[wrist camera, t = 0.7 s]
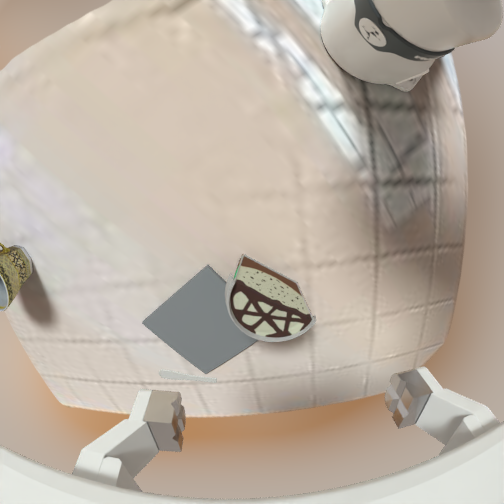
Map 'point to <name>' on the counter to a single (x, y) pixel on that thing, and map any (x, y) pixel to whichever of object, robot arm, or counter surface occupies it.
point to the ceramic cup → (13, 273)
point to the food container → (266, 303)
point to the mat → (199, 323)
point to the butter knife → (183, 376)
